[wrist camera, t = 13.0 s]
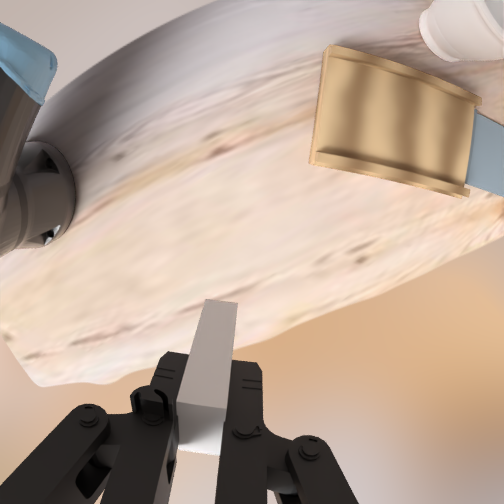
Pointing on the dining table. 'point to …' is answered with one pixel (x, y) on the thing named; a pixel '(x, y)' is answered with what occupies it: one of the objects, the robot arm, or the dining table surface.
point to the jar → (464, 29)
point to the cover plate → (486, 156)
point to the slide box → (392, 122)
